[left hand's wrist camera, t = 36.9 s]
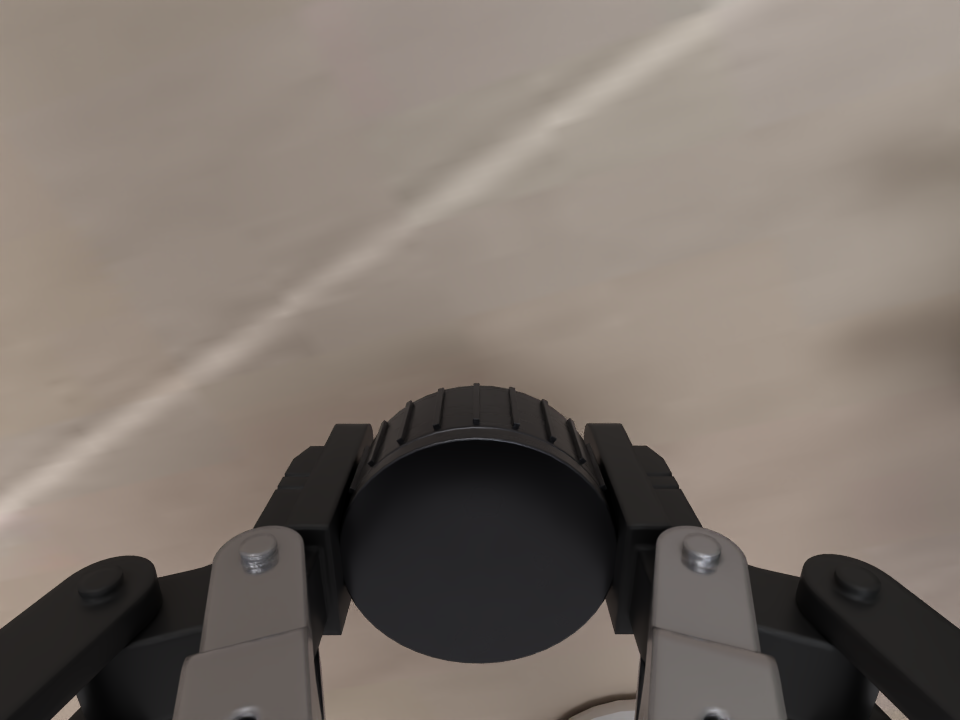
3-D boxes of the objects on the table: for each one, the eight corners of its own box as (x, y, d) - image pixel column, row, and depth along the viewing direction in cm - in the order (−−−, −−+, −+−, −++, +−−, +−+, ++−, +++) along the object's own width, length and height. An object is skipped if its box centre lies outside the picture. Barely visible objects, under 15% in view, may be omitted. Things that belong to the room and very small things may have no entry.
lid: (319, 418, 11) (285, 478, 9) (568, 350, 10) (588, 397, 8) (404, 607, 12) (390, 690, 10) (621, 556, 12) (647, 634, 10)
